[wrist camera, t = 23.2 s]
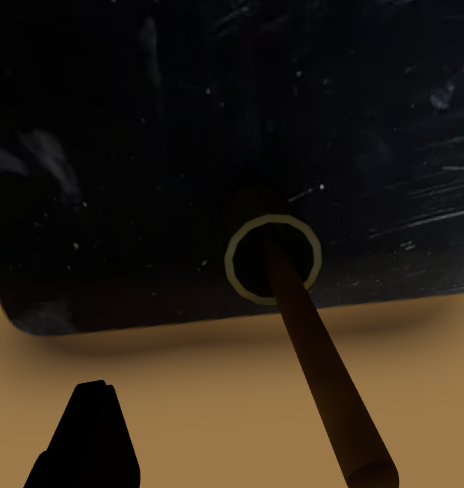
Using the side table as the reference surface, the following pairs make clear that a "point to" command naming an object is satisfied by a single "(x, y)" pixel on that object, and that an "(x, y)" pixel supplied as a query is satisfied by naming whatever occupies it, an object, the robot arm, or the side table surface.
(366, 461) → the stick
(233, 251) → the holder
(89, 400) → the robot arm
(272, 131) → the side table surface
